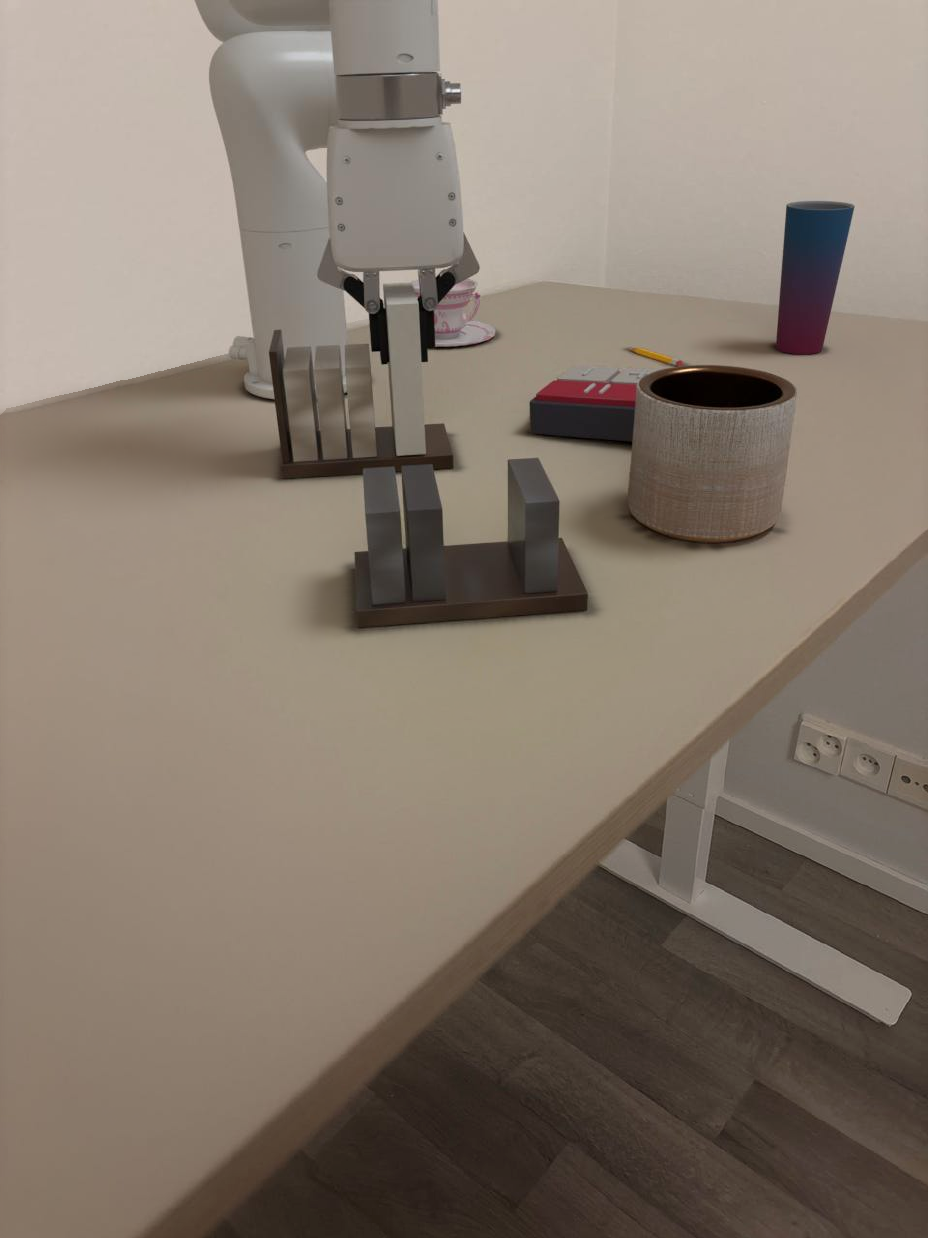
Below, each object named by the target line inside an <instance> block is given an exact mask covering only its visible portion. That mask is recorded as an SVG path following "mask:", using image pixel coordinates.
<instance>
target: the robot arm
mask: <svg viewBox="0 0 928 1238" xmlns="http://www.w3.org/2000/svg"><path fill="white" fill-rule="evenodd" d="M194 2H195V3H194V4H195V6H196V8H197V10H198V13H199V15H200V18H201V19H202V21H203V23H204V25H205V27H206V29H207V30H208V32H209V33H211V35H212V36H213V37H214V38H215V39H216V40H217V41H219V42H221V44H220V45H219V46H218V47H217V49H216V50H215V51H214V53H213V55H212V57H211V60H210V63H209V67H208V68H209V69H208V83H209V84H208V85H209V91H210V96H211V101H212V105H213V109H214V113H215V116H216V119H217V123H218V127H219V130H220V133H221V134H220V135H221V137H222V142H223V145H224V149H225V154H226V157H227V161H228V166H229V171H230V177H231V182H232V188H233V194H234V202H235V208H236V215H237V223H238V228H239V236H240V237H239V238H240V243H241V245H240V246H241V252H242V261H243V267H244V275H245V282H246V288H247V298H248V306H249V313H250V321H251V328H252V335H253V336H252V337H250V336H243V335H242V336H241V335H237V336H235V337H234V338H233V341H232V345H230V346H229V349H228V356H229V357H230V358H231V359H234V360H241V361H242V360H243V361H244V360H246V361H247V362H248V369H249V370H248V371H247V372H245V374H244V376H243V382H244V388H245V390H246V391H247V392H248V393H250V394H251V395H254V396H256V397H259V398H263V399H268V400H275V399H274V391H273V383H272V375H271V367H270V359H269V349H270V345H271V341H272V337H273V333H274V330H281V331H282V340H283V348H284V357H286V352H287V348H290V347H309V346H311V350H312V360H313V369H314V364H315V353H316V346H330V345H340V352H341V363H342V375H343V386H344V394H347V385H346V374H345V345H349V341H348V329H347V328H348V327H347V316H346V305H345V293H344V291H345V292H346V293H347V294H348V295H349V296H350V297H351V298H352V299H354V301H356V303H358V304H359V305H360V306H361V307H362V308H363V309H364V310H365V311H366V313H368V322H369V323H368V324H369V325H368V326H369V337H370V348H371V349H370V350H371V353H377V352H379V357H380V364H381V366H382V365H388V363H389V362H390V360H389V345H388V330H387V315H386V309H385V308H384V299H382V298H381V285H380V283H381V282H380V272H395V271H396V272H397V271H412V270H413V271H415V270H417V276H418V277H417V280H418V279H419V290H420V296H419V297H418V298H417V300H418V303H419V323H420V343H421V363H428V362H429V351H428V350H433V349H436V347H435V325H434V310H435V309H436V308H437V305H438V304H439V302H440V301H441V300H442V299H443V298H444V297H445V296H446V294H447V293H448V292H449V291H450V290H451V289H452V288H453V287H454V285H456V284H458V283H460V282H462V281H464V280H466V279H469V278H471V277H473V276H476V275H477V274H478V273H479V272H480V269H481V266H480V264H479V261H478V259H477V257H476V255H475V253H474V250H473V249H472V246H471V245H470V242H469V240H468V238H467V236H466V234H465V232H464V215H463V203H462V202H463V201H462V192H461V190H462V189H461V180H460V171H459V166H458V158H457V151H456V142H455V136H454V132H453V127H452V124H451V122H449V121H443V118H442V116H443V115H444V113H443V111H444V110H446V109H447V108H446V107H451V106H452V105H461V104H462V85H461V83H460V82H454V83H452V82H451V81H450V80H449V81H448V80H447V81H445V80H446V79H445V78H442V73H439V72H441V56H440V53H441V52H440V27H439V25H440V24H439V23H440V22H439V0H194ZM318 149H326V180H325V178H324V177H323V176H322V174H321V173H320V172H319V171H318V170H317V168H316V167H315V166H314V165H313V163H312V162H311V160H310V159H309V157H308V155H307V151H312V150H318ZM443 268H444V269H443ZM445 268H446V269H445ZM436 269H442V270H441V271H439V273H438V274H437V275H436ZM350 272H353V273H350ZM354 273H362V280H361V279H360V278H359V277H358V276H357V275H356V274H354ZM314 379H315V374H314ZM315 389H316V384H315ZM316 399H317V394H316Z"/></svg>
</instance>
